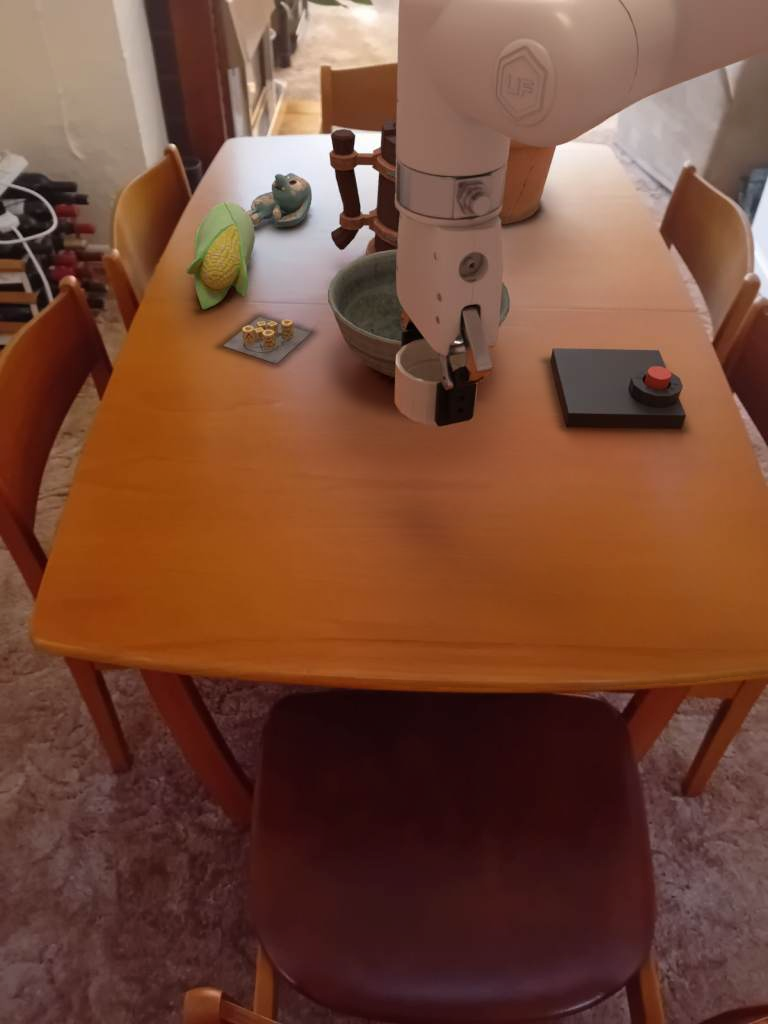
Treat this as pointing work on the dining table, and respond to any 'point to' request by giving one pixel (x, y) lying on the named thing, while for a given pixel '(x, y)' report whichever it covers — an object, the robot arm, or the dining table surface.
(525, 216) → the pottery
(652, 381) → the tare button
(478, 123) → the robot arm
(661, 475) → the dining table surface
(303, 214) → the grey-green animal figurine
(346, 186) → the mug
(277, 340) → the set of gold cylinders
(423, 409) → the small bowl
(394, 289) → the bowl
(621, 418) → the black button base
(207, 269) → the corn
